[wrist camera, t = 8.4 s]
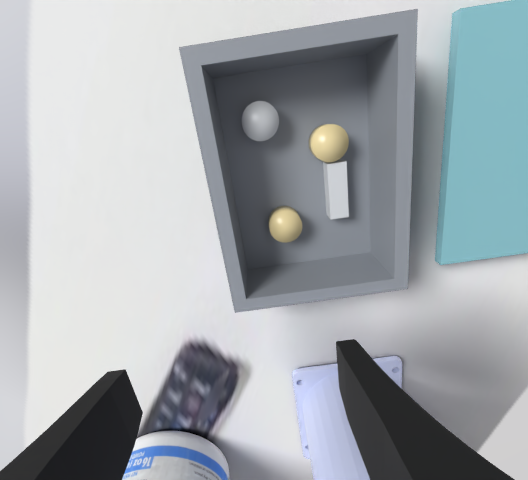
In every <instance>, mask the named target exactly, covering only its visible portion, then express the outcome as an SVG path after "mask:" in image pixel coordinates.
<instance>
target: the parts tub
mask: <svg viewBox="0 0 528 480" xmlns="http://www.w3.org/2000/svg"><path fill="white" fill-rule="evenodd" d="M417 15H418V9H414V10H407V11H401V12H395V13H389V14H383V15H376V16H370V17H364V18H358V19H352V20H345V21H339V22H333V23H327V24H321V25H314V26H308V27H302V28H296V29H290V30H283V31H277V32H271V33H265V34H259V35H252V36H246V37H240V38H234V39H228V40H221V41H215V42H209V43H203V44H197V45H190V46H184V47H179V50H180V55H181V59H182V64H183V69H184V74H185V78H186V83H187V88H188V92H189V97H190V102H191V107H192V111H193V116H194V121H195V126H196V130H197V135H198V140H199V145H200V149H201V154H202V159H203V164H204V168H205V173H206V178H207V183H208V187H209V192H210V197H211V201H212V206H213V211H214V216H215V220H216V225H217V230H218V235H219V239H220V244H221V249H222V254H223V258H224V263H225V268H226V273H227V277H228V282H229V287H230V292H231V296H232V301H233V306H234V310H235V313H236V312H243V311H251V310H258V309H265V308H272V307H280V306H287V305H294V304H302V303H309V302H316V301H323V300H331V299H338V298H345V297H353V296H360V295H367V294H374V293H382V292H389V291H396V290H404V289H408V271H409V242H410V214H411V186H412V157H413V129H414V101H415V72H416V44H417Z"/></svg>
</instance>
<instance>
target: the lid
mask: <svg viewBox="0 0 528 480" xmlns="http://www.w3.org/2000/svg"><path fill="white" fill-rule="evenodd" d="M524 253H528V0H511V1H505V2H499V3H492V4H486V5H480V6H474V7H467V8H461V9H459V10H457V11H456V12H454V13H452V27H451V41H450V55H449V69H448V83H447V97H446V111H445V126H444V140H443V154H442V168H441V182H440V196H439V211H438V225H437V239H436V253H435V261H436V262H437V263H439V264H440V265H444V264H452V263H459V262H466V261H473V260H480V259H488V258H495V257H502V256H509V255H517V254H524Z"/></svg>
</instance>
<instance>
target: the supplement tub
mask: <svg viewBox="0 0 528 480" xmlns="http://www.w3.org/2000/svg"><path fill="white" fill-rule="evenodd" d="M122 480H229V467H228V463H227V461H226V458H225V456H224V455H223V453H222V452H221V451H220V450H219V449H218V448H217V447H216V446H215V445H214V444H213V443H211V442H210V441H208V440H206V439H205V438H202V437H200V436H198V435H195V434H191V433H187V432H182V431H159V432H154V433H150V434H147V435H144V436H141V437H139V438H137V439H136V442H135V445H134V448H133V451H132V454H131V457H130V459H129V462H128V465H127V467H126V470H125V473H124V476H123V478H122Z"/></svg>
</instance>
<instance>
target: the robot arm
mask: <svg viewBox="0 0 528 480" xmlns="http://www.w3.org/2000/svg"><path fill="white" fill-rule="evenodd" d="M336 350H337V363H336V364H329V365H321V366H313V367H306V368H298V369H295V370H294V371H293V372H292V378H293V386H294V393H295V400H296V407H297V414H298V421H299V428H300V435H301V442H302V449H303V456H304V457H305V458H307V459H310V460H311V466H312V472H313V478H314V480H514V479H513V478H511V477H510V476H508V475H507V474H505V473H504V472H503V471H501V470H500V469H498V468H497V467H496V466H494V465H493V464H491V463H490V462H488V461H487V460H486V459H485V458H483V457H482V456H481V455H479V454H478V453H477V452H475V451H474V450H473V449H471V448H470V447H469V446H467V445H466V444H465V443H464V442H462V441H461V440H460V439H459V438H457V437H456V436H455V435H454V434H452V433H451V432H450V431H449V430H447V429H446V428H445V427H444V426H442V425H441V424H440V423H439V422H438V421H437V420H435V419H434V418H433V417H432V416H431V415H430V414H428V413H427V412H426V411H425V410H424V409H423V408H422V407H421V406H419V405H418V404H417V403H416V402H415V401H414V400H413V399H412V398H411V397H410V396H409V395H408V394H406V393H405V392H404V391H403V390H402V361H401V359H400V358H399V357H398V356H389V357H382V358H374V359H372V358H371V357H370V356H369V355H368V353H367V352H366V351H365V350H364V349H363V348H362V347H361V345H360V344H359V343H358V342H357V341H356V340H354V339H353V340H345V341H338V342H336ZM395 367H396V368H395ZM393 368H394V369H393ZM298 380H301V381H298ZM142 413H143V412H142V410H141V407H140V405H139V402H138V400H137V397H136V395H135V392H134V390H133V387H132V385H131V382H130V380H129V377H128V375H127V372H126V370H118V371H110V372H107V373H106V374H105V375H104V376H103V377H102V378H101V379H99V380H98V381H97V382H96V383H95V384H94V385H93V386H92V387H91V388H90V389H89V390H88V391H87V392H86V393H85V394H84V395H83V396H82V397H81V398H79V399H78V400H77V401H76V402H75V403H74V404H73V405H72V406H71V407H70V408H69V409H68V410H67V411H66V412H65V413H64V414H63V415H62V416H61V417H60V418H59V419H58V420H56V421H55V422H54V423H53V424H52V425H51V426H50V427H49V428H48V429H47V430H46V431H45V432H44V433H43V434H42V435H40V436H39V437H38V438H37V439H36V440H35V441H34V442H33V443H32V444H30V445H29V446H28V447H27V448H26V449H25V450H24V451H23V452H22V453H20V454H19V455H18V456H17V457H16V458H15V459H14V460H13V461H12V462H11V463H9V464H8V465H7V466H6V467H5V468H4V469H2V470H1V471H0V480H122V478H123V476H124V473H125V470H126V467H127V465H128V462H129V459H130V457H131V454H132V451H133V448H134V445H135V442H136V438H137V434H138V430H139V426H140V422H141V418H142Z"/></svg>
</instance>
